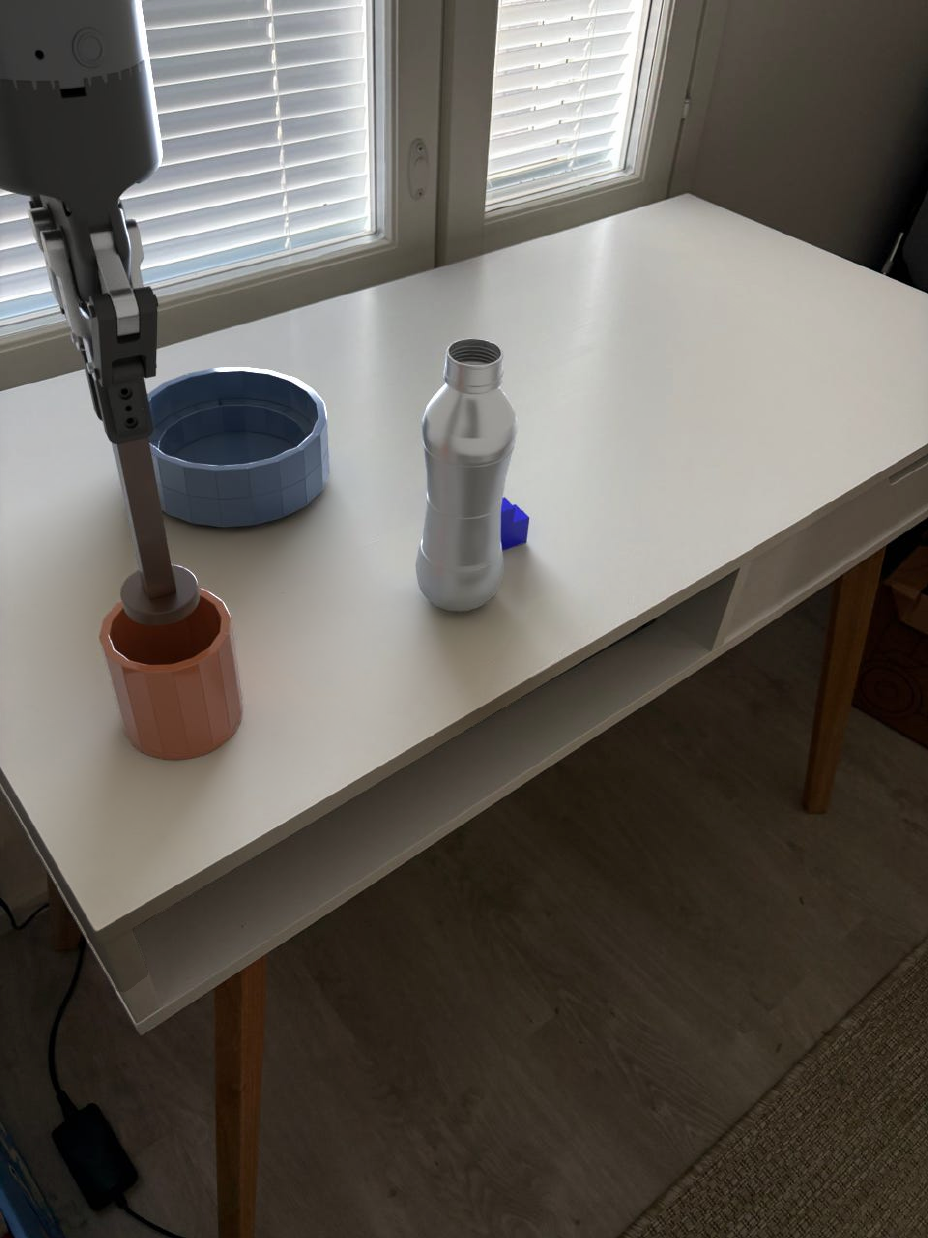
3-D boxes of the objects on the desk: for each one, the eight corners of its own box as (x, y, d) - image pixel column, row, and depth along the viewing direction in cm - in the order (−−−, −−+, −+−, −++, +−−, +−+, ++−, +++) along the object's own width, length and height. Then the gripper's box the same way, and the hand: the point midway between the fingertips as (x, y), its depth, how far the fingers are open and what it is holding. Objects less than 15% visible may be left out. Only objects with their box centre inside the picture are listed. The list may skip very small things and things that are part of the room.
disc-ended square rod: (134, 635, 57) (71, 363, 45) (114, 588, 60) (49, 321, 48) (210, 612, 59) (168, 345, 47) (187, 568, 61) (142, 305, 50)
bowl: (174, 553, 78) (163, 489, 74) (121, 450, 87) (109, 388, 83) (357, 503, 84) (356, 442, 80) (289, 412, 93) (285, 353, 89)
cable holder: (526, 542, 81) (531, 502, 79) (489, 554, 80) (493, 514, 77) (474, 489, 86) (477, 450, 83) (439, 500, 85) (441, 460, 82)
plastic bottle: (400, 607, 75) (404, 363, 61) (436, 555, 79) (448, 318, 66) (480, 633, 73) (503, 389, 60) (513, 578, 78) (541, 340, 64)
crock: (141, 776, 62) (118, 688, 57) (110, 694, 67) (86, 605, 62) (259, 735, 65) (248, 647, 60) (221, 659, 70) (207, 571, 64)
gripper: (-83, 6, 42) (20, 377, 54) (-26, 105, 33) (81, 521, 45) (100, -4, 45) (159, 351, 57) (196, 85, 36) (242, 481, 48)
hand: (124, 425), depth 51 cm, fingers closed on disc-ended square rod
